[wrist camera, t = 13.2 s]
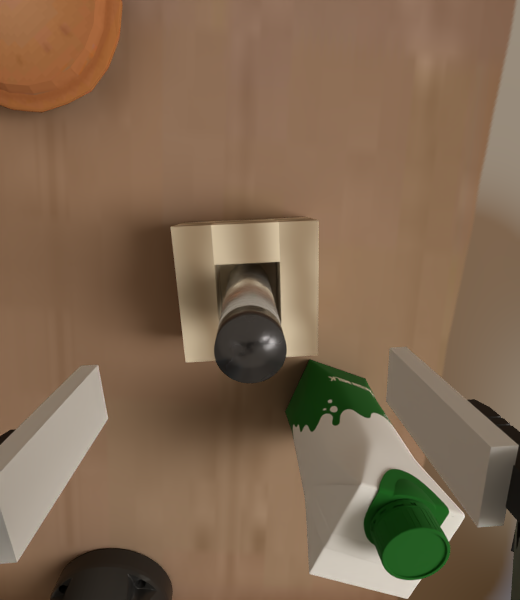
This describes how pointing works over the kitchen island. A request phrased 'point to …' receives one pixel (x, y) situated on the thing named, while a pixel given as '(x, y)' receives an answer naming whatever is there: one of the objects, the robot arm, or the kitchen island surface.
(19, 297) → the kitchen island surface
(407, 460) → the milk carton
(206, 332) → the birch socket block
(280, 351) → the steel peg
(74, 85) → the pie
